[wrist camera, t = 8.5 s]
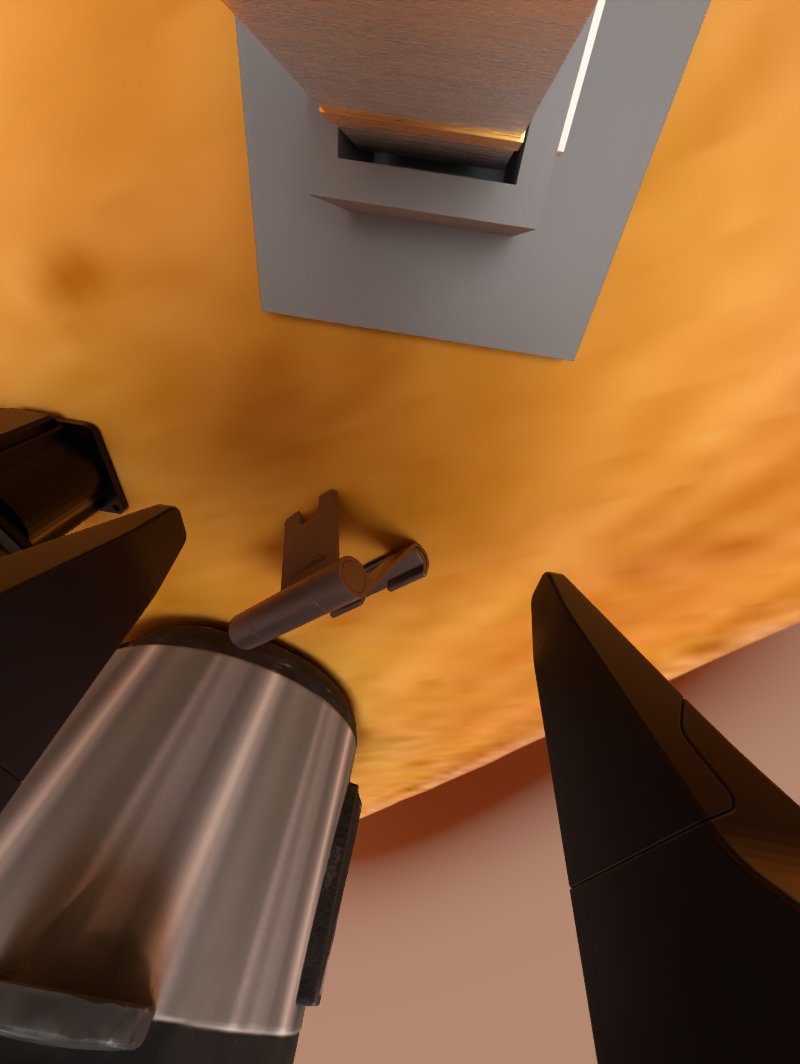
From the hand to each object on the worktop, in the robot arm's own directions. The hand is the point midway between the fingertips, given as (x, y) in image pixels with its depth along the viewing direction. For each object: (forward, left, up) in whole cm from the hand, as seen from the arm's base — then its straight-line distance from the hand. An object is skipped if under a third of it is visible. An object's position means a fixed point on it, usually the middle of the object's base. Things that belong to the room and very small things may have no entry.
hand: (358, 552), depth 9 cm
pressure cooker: (-35, +13, -13) cm, 40 cm away
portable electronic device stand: (-11, +3, -13) cm, 18 cm away
